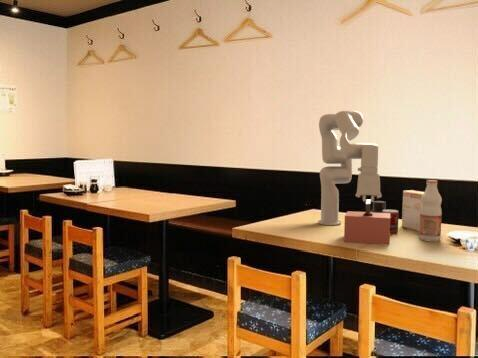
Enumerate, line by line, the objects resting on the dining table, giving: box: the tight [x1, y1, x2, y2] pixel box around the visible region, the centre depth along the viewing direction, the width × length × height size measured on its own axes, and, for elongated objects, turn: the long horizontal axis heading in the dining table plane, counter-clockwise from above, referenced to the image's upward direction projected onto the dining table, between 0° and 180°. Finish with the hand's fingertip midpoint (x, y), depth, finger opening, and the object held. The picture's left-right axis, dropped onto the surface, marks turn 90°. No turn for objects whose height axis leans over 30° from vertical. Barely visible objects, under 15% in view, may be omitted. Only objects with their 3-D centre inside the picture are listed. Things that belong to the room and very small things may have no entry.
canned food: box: [383, 209, 399, 235], centre depth 244 cm, size 8×8×11 cm
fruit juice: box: [418, 179, 443, 242], centre depth 227 cm, size 9×9×28 cm
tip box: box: [343, 210, 391, 246], centre depth 226 cm, size 14×20×12 cm
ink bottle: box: [371, 200, 387, 213], centre depth 269 cm, size 10×9×12 cm
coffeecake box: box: [401, 189, 425, 232], centre depth 253 cm, size 15×7×20 cm, turn 18°
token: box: [365, 198, 372, 216], centre depth 225 cm, size 6×2×6 cm
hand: (368, 209), depth 226 cm, fingers closed on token, 1 cm apart
